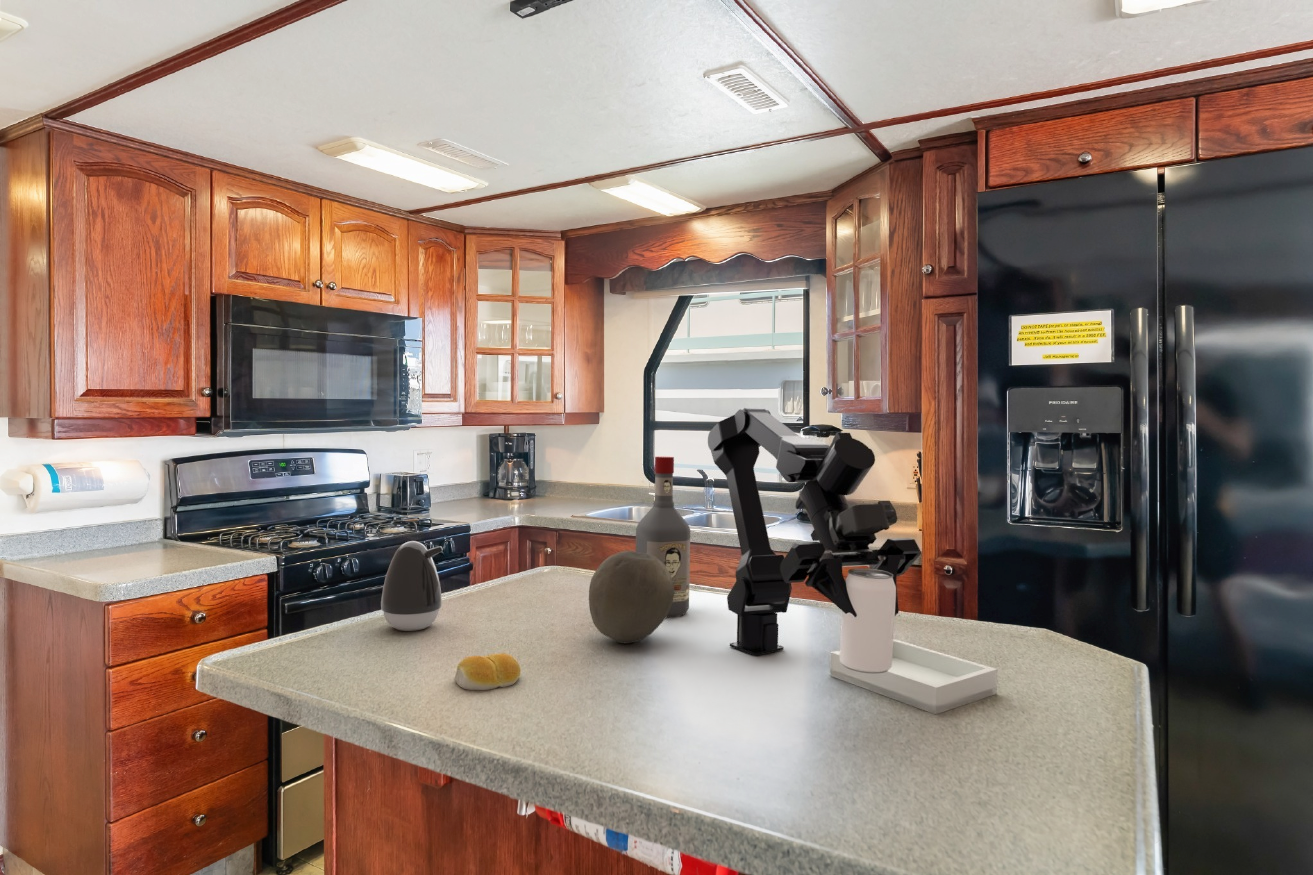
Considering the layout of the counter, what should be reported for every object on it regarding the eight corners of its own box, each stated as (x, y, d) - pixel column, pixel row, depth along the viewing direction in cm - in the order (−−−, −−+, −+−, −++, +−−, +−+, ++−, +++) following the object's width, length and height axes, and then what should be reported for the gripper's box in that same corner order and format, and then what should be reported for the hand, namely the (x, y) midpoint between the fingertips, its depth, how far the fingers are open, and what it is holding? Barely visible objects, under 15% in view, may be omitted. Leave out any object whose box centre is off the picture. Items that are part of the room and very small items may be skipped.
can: (898, 675, 99) (904, 579, 98) (847, 673, 98) (852, 577, 98) (882, 658, 105) (887, 568, 105) (833, 657, 105) (838, 566, 104)
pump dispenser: (432, 635, 135) (433, 546, 135) (372, 634, 135) (372, 545, 135) (449, 620, 145) (450, 537, 145) (393, 619, 145) (393, 536, 145)
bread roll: (529, 684, 112) (529, 656, 112) (468, 696, 108) (468, 666, 107) (506, 668, 119) (506, 641, 119) (447, 678, 114) (447, 651, 114)
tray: (830, 675, 118) (830, 652, 118) (890, 660, 126) (891, 638, 126) (935, 714, 103) (936, 687, 103) (996, 693, 111) (997, 669, 111)
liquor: (630, 608, 157) (633, 455, 156) (672, 604, 160) (675, 455, 160) (649, 619, 148) (652, 458, 147) (693, 615, 152) (696, 458, 151)
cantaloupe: (636, 658, 125) (638, 563, 124) (570, 641, 133) (571, 552, 133) (688, 639, 136) (689, 551, 135) (624, 624, 144) (625, 542, 144)
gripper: (793, 480, 101) (838, 585, 92) (915, 478, 108) (969, 577, 98) (762, 531, 109) (801, 634, 99) (878, 527, 116) (925, 623, 106)
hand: (876, 616), depth 100 cm, fingers closed on can, 6 cm apart
